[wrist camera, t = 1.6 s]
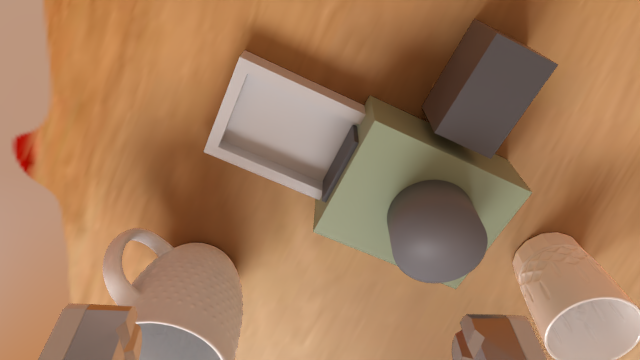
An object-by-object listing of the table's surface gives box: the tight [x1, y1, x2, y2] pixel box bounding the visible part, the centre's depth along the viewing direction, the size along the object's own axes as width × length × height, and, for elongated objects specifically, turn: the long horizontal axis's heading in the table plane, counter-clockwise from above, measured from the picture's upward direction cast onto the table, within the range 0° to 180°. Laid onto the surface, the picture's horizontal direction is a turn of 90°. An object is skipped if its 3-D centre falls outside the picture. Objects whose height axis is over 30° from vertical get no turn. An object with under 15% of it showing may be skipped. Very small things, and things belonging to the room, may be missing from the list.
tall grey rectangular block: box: [422, 19, 558, 159], centre depth 36 cm, size 5×8×6 cm, turn 155°
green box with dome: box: [203, 50, 532, 289], centre depth 38 cm, size 25×11×10 cm, turn 65°
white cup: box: [512, 232, 640, 360], centre depth 43 cm, size 8×8×10 cm
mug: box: [103, 228, 243, 360], centre depth 43 cm, size 15×11×13 cm
